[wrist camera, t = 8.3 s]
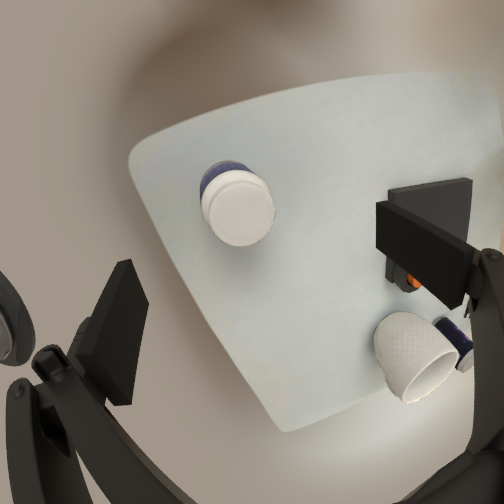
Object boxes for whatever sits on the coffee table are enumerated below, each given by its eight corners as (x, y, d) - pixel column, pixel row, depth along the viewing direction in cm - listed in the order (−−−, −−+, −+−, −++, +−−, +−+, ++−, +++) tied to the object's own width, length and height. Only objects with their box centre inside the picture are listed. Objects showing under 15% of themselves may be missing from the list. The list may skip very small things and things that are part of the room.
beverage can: (436, 337, 48) (468, 372, 37) (421, 337, 46) (455, 376, 36) (449, 315, 46) (485, 349, 35) (436, 314, 44) (473, 351, 34)
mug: (398, 357, 47) (432, 402, 36) (351, 372, 46) (383, 426, 34) (421, 294, 41) (469, 340, 29) (370, 307, 39) (418, 364, 28)
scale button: (405, 284, 35) (412, 290, 33) (407, 267, 34) (414, 272, 32) (419, 279, 35) (426, 284, 34) (422, 262, 34) (429, 267, 32)
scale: (384, 285, 38) (397, 297, 35) (388, 189, 32) (404, 197, 29) (456, 257, 40) (469, 266, 37) (465, 177, 33) (481, 183, 30)
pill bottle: (189, 196, 28) (185, 229, 19) (220, 149, 27) (232, 158, 18) (235, 223, 30) (252, 266, 21) (266, 180, 29) (298, 204, 20)
